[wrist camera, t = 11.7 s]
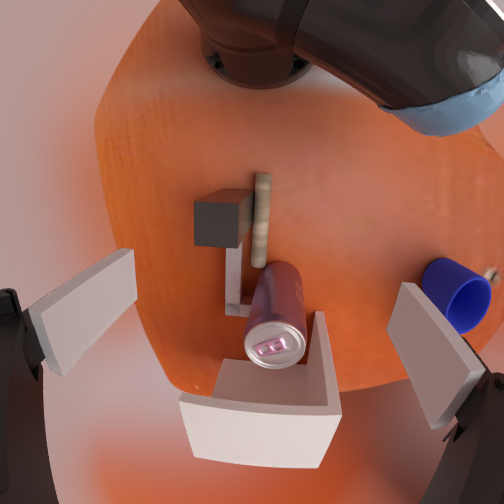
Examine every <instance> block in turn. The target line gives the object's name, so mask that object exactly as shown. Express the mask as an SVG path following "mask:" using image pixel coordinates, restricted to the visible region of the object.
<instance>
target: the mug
mask: <svg viewBox="0 0 504 504" xmlns="http://www.w3.org/2000/svg"><path fill="white" fill-rule="evenodd" d="M422 289H423V292H424V294H425V295H426V296H427V297H428V298H429V299H430V301H431V302H432V303H433V304H434V305H435V306H436V307H437V309H438V310H439V311H440V312H441V313H442V314H443V316H444V317H445V318H446V319H447V320H448V321H449V323H450V324H451V325H452V326H453V327H454V329H455V330H456V331H457V332H458V334H463V333H466V332H468V331H470V330H471V329H473V328H474V327H475V326H476V325H478V323H479V322H480V321H481V320H482V319H483V317H484V316H485V314H486V312H487V310H488V308H489V305H490V301H491V287H490V284H489V282H488V281H487V280H486V279H485V278H483V277H482V276H480V275H478V274H476V273H475V272H473V271H471V270H469V269H468V268H466V267H464V266H462V265H460V264H459V263H457V262H455V261H453V260H451V259H448V258H440V259H437V260H435V261H433V262H432V263H431V264H430V265H429V266H428V267H427V269H426V270H425V272H424V275H423V279H422Z"/></svg>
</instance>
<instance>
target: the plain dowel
mask: <svg viewBox="0 0 504 504" xmlns="http://www.w3.org/2000/svg"><path fill="white" fill-rule="evenodd" d="M271 185H272V174H266V173H256V179H255V197H254V215H253V233H252V251H251V266H252V267H255V268H264V267H265V266H266V256H267V243H268V229H269V215H270V200H271Z"/></svg>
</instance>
